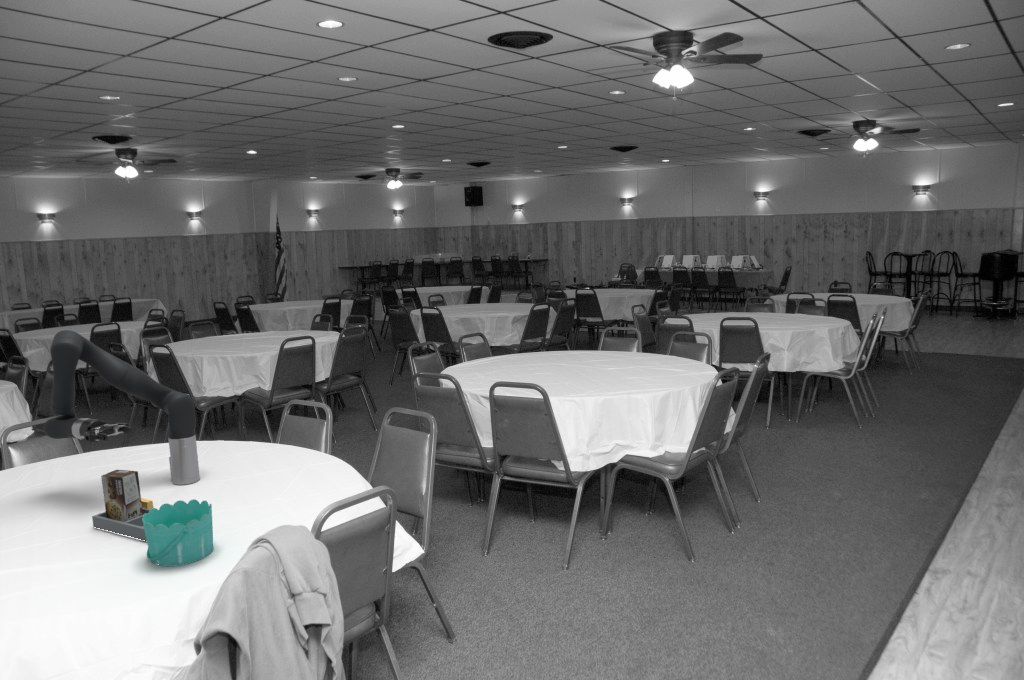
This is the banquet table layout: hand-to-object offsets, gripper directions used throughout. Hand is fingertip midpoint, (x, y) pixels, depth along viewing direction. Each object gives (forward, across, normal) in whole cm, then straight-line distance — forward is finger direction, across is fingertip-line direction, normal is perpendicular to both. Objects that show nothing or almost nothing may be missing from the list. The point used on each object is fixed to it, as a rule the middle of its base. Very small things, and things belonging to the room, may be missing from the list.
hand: (118, 433), depth 258 cm
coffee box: (+12, -10, +25) cm, 30 cm away
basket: (+49, -17, +26) cm, 58 cm away
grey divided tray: (+20, -9, +26) cm, 34 cm away
